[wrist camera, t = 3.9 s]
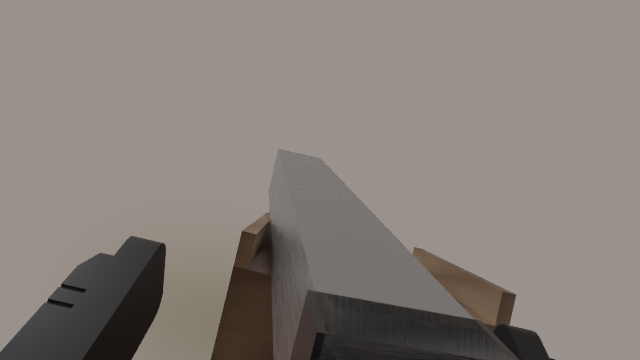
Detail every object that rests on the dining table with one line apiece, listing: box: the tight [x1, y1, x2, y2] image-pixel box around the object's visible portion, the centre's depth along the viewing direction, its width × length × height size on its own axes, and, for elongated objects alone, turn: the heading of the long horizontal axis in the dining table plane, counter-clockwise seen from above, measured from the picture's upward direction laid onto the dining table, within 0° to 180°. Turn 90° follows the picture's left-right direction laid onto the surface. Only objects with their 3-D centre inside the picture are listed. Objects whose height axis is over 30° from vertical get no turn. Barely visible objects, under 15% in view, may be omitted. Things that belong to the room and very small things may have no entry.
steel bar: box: [269, 149, 519, 360], centre depth 21 cm, size 4×28×4 cm, turn 10°
